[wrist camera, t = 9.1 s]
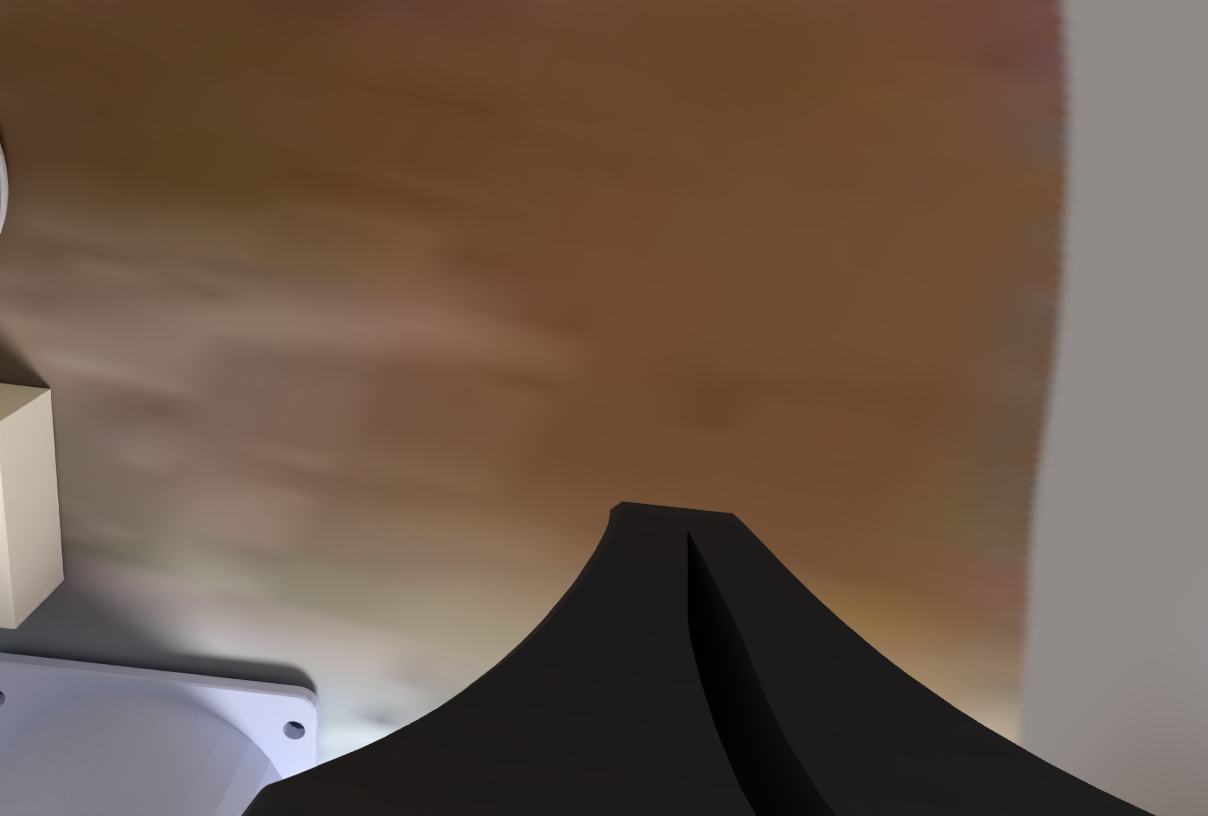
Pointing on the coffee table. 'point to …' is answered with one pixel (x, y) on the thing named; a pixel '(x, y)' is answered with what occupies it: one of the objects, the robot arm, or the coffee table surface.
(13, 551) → the notched board
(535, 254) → the coffee table surface
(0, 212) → the supplement bottle
